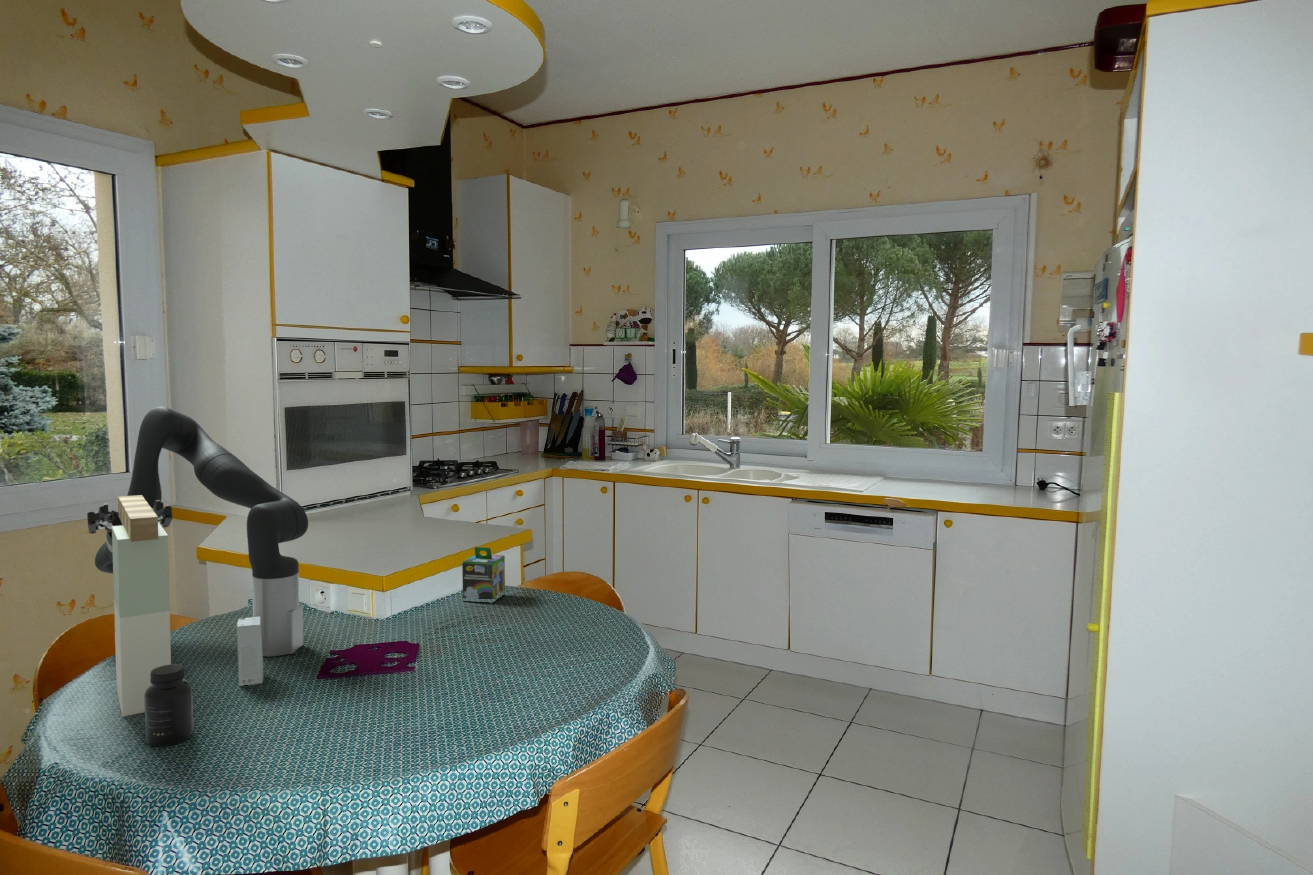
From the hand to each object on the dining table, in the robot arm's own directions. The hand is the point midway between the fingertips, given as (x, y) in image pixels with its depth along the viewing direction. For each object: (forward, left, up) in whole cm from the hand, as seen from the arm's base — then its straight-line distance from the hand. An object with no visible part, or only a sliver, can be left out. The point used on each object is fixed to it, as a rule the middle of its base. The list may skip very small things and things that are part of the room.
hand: (132, 506), depth 153 cm
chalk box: (-60, -56, -35) cm, 89 cm away
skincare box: (-23, +2, -35) cm, 42 cm away
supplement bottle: (-21, +27, -35) cm, 49 cm away
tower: (-7, +11, -35) cm, 37 cm away
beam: (-5, +7, -3) cm, 9 cm away
